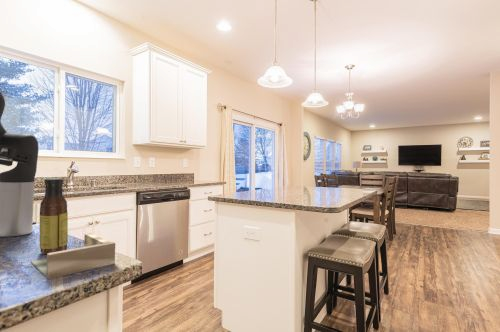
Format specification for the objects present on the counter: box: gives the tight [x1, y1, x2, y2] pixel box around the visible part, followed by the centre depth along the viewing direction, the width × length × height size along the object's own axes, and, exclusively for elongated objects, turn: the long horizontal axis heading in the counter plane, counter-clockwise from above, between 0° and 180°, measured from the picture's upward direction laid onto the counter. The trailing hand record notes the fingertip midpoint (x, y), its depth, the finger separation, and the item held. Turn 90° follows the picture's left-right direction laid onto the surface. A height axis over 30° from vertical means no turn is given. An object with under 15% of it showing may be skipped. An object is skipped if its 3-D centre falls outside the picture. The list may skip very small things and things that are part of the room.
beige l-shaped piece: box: [30, 232, 116, 280], centre depth 67 cm, size 14×14×5 cm
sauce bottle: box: [39, 177, 69, 255], centre depth 75 cm, size 7×6×20 cm
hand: (21, 161), depth 69 cm, fingers open, 8 cm apart
